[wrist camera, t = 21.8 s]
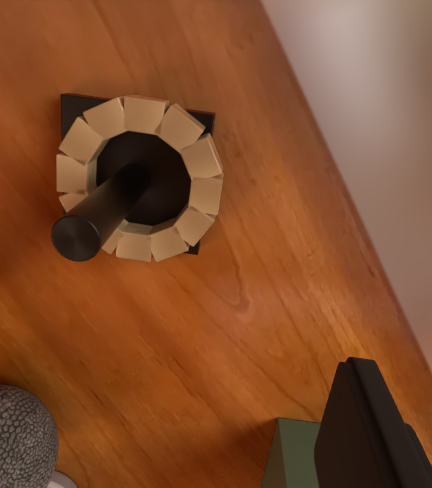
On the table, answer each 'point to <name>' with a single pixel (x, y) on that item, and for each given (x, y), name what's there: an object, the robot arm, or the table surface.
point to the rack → (124, 184)
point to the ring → (173, 133)
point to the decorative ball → (26, 440)
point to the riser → (292, 455)
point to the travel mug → (60, 481)
